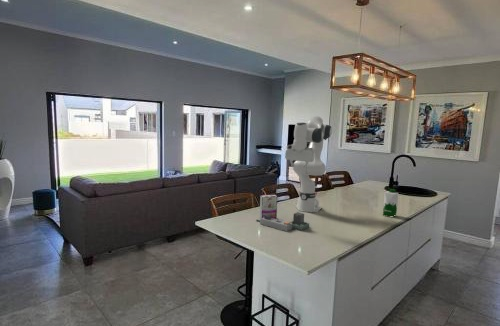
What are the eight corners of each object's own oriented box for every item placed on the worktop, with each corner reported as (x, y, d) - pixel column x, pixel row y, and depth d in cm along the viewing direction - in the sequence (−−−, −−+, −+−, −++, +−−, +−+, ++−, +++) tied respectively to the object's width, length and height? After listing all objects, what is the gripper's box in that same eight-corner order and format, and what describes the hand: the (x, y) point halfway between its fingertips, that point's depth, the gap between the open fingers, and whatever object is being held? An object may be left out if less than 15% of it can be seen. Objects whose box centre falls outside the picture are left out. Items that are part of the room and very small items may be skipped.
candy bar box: (274, 217, 208) (275, 194, 206) (276, 219, 203) (277, 196, 201) (259, 217, 205) (260, 194, 203) (261, 220, 200) (262, 196, 198)
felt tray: (295, 223, 195) (295, 219, 195) (309, 226, 189) (309, 223, 189) (287, 227, 187) (287, 223, 187) (301, 230, 181) (301, 226, 181)
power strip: (253, 222, 195) (253, 214, 194) (259, 219, 200) (259, 211, 200) (286, 231, 179) (287, 222, 179) (292, 228, 185) (292, 220, 184)
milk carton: (397, 215, 223) (399, 190, 220) (393, 218, 216) (395, 191, 214) (385, 213, 229) (387, 188, 227) (381, 215, 222) (383, 189, 220)
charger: (292, 225, 187) (293, 213, 186) (296, 224, 191) (297, 212, 190) (299, 227, 184) (300, 215, 183) (303, 225, 188) (304, 213, 187)
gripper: (316, 147, 191) (315, 168, 193) (289, 145, 203) (288, 165, 205) (312, 148, 186) (310, 169, 188) (284, 146, 198) (283, 166, 200)
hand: (298, 167), depth 196 cm, fingers open, 8 cm apart
